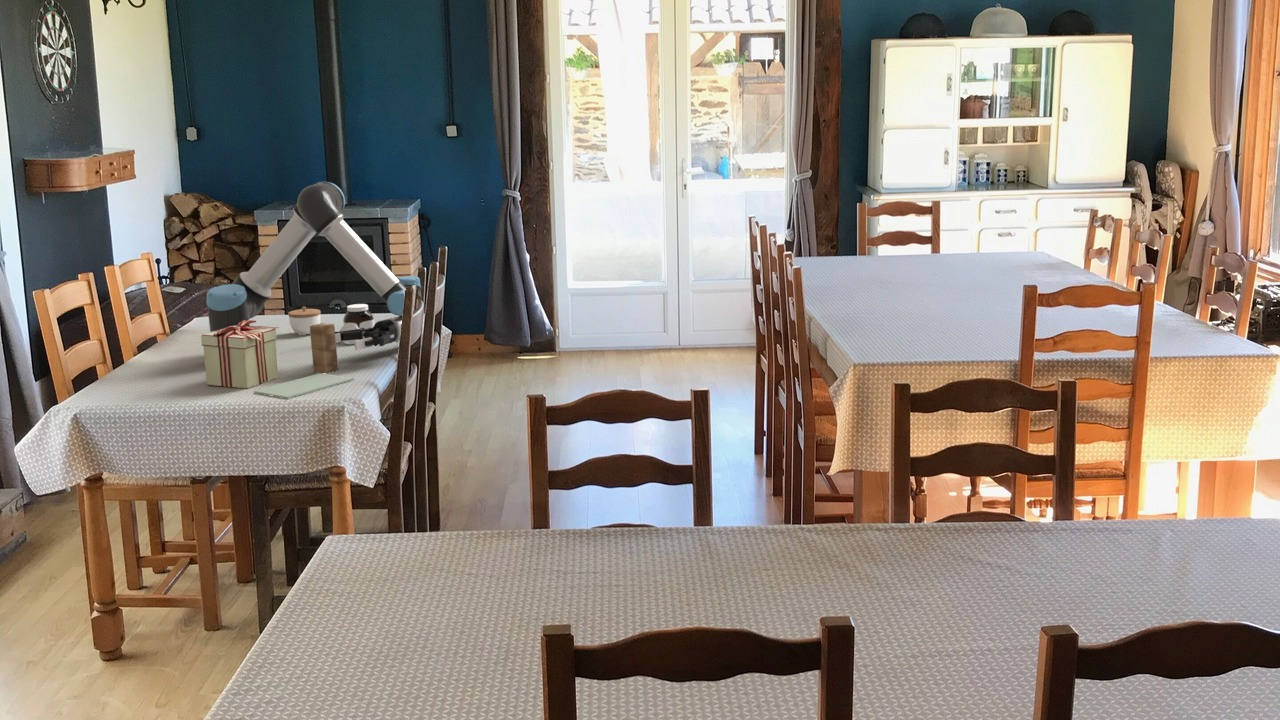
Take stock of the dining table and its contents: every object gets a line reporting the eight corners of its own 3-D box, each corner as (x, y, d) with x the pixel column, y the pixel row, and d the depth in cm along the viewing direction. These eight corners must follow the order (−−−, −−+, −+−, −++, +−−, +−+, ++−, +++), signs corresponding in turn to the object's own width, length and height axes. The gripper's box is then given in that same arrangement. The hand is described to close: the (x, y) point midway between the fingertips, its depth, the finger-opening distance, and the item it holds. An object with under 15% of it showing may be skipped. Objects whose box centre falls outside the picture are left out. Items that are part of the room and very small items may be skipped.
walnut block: (326, 368, 368) (322, 322, 365) (338, 370, 365) (334, 323, 362) (313, 372, 364) (309, 325, 361) (325, 373, 361) (321, 326, 358)
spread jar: (374, 336, 413) (371, 302, 411) (378, 343, 403) (375, 308, 400) (337, 339, 410) (334, 305, 407) (340, 346, 399) (337, 311, 397)
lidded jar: (328, 332, 423) (326, 305, 421) (305, 338, 414) (302, 310, 412) (307, 329, 429) (304, 303, 427) (283, 335, 420) (281, 308, 418)
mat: (320, 374, 360) (320, 373, 360) (353, 380, 352) (353, 378, 352) (254, 393, 341) (254, 391, 340) (288, 399, 333) (288, 397, 333)
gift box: (260, 389, 344) (254, 330, 341) (203, 387, 349) (196, 328, 346) (292, 375, 360) (287, 318, 357) (237, 373, 365) (231, 316, 362)
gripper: (420, 346, 379) (370, 360, 361) (362, 338, 392) (311, 351, 375) (418, 322, 377) (368, 335, 360) (360, 315, 390) (309, 327, 373)
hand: (339, 343), depth 367 cm, fingers open, 13 cm apart
